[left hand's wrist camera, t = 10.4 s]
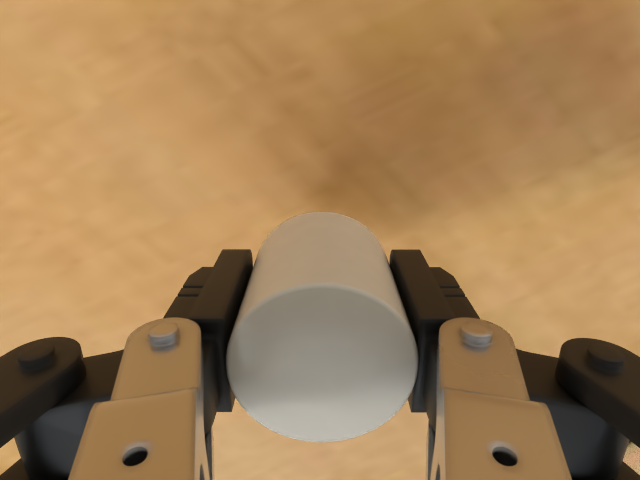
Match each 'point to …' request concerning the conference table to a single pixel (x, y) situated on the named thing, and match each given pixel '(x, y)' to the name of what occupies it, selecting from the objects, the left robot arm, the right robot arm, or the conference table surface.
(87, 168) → the conference table surface
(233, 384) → the canister
